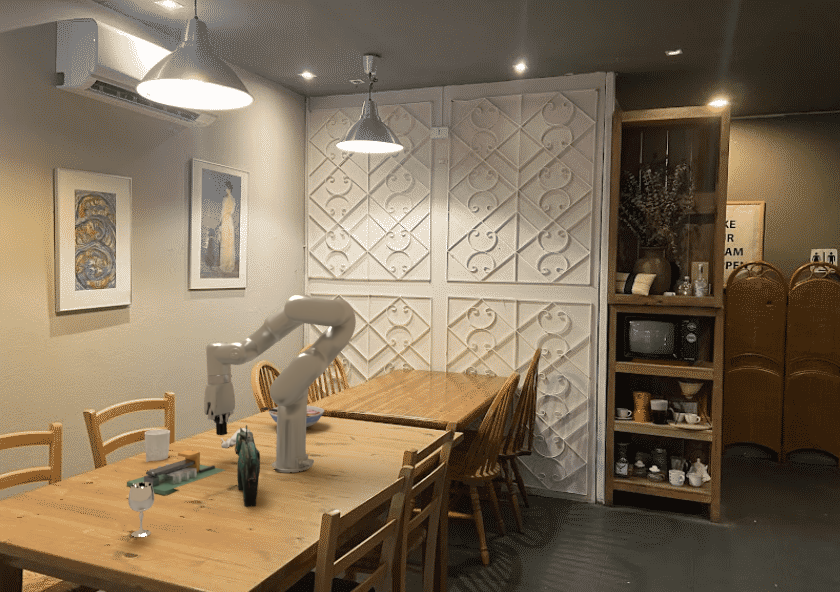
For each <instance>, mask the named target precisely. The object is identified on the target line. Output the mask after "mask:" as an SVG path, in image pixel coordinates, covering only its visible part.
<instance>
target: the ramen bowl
mask: <svg viewBox="0 0 840 592" xmlns="http://www.w3.org/2000/svg"><path fill="white" fill-rule="evenodd" d="M277 409H278V406H277V407H273V408H271V407H267V406H264V407H261V408H260V410H263V411H268V413H269V415H270V417H271V419H272V420H273V421H274V422H275V423H276V424H277ZM324 413H325V409H324V408H322V407H318V406H314V405H307V413H306V428H308V427H311V426H313V425H315V424H317V422H318V421H319V420H320V419H321V417H322V416H323V415H324Z"/></svg>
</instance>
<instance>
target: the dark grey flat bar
mask: <svg viewBox="0 0 840 592" xmlns="http://www.w3.org/2000/svg"><path fill="white" fill-rule="evenodd" d="M168 464H169V465H166V464H165V465H164V466H162V467H159V466H158V467H159V468H158V467H157V468H152V469H153V470H150V469H149V470H147V471H146V472H145V476H146V475H151V476H155V477H156V476H159V475H162V474H165V473H168V472H171V471H174V470H178V469H181V468H184V467H187V466H190V465H193V464H195V461H194V460H189V459H186V460H185V459H184V460H180V461H176V462H172V463H168Z"/></svg>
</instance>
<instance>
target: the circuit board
mask: <svg viewBox="0 0 840 592" xmlns="http://www.w3.org/2000/svg"><path fill="white" fill-rule="evenodd" d="M225 471H226V469H224V468H218V467H216V465H205V464H200V470H199V472H197V478H195V479H194V478H190V479H189V481H181V483H180V484H177V483H175V484H170V483H166V482H161V481H159V485H157V486H154V487H153V490H154V494H158V495H161V496H168V495H170V494H173V493H176V492H179V491H180V489H176V488H179V487H181V486H184V485H185V486H186V485H187V484H190V483H193V482H197V481H199V480H202V479H204V478H207V477H211V476H213V475H216V474H219V473H222V472H225ZM139 482H144V476H142V477H139V478H134V479H132V480H129V481H126V487H130V488H131V485H133V484H135V483H139Z"/></svg>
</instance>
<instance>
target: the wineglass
mask: <svg viewBox="0 0 840 592" xmlns="http://www.w3.org/2000/svg"><path fill="white" fill-rule="evenodd" d="M127 500H128V506H129V508H130V509H131V510H132V511H134V512H138V513H139V514H138V517H139V529H138V530H136V531H133V532H132V533H131V534H130V536H131V535H132V536H134V537H133V538H135V537H141V538H145V536H146V537H148V536H150V535H151V534H152V532H151V530H147V529H144V528H143V519H144V512H146V511H147V510H149V509H151V508H152V506H154V502H155V493H154V490H153V486H152V483H150V482H139V483H135V484H133V485H131V487H130V489H129V493H128V499H127ZM132 536H131V537H132Z"/></svg>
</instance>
